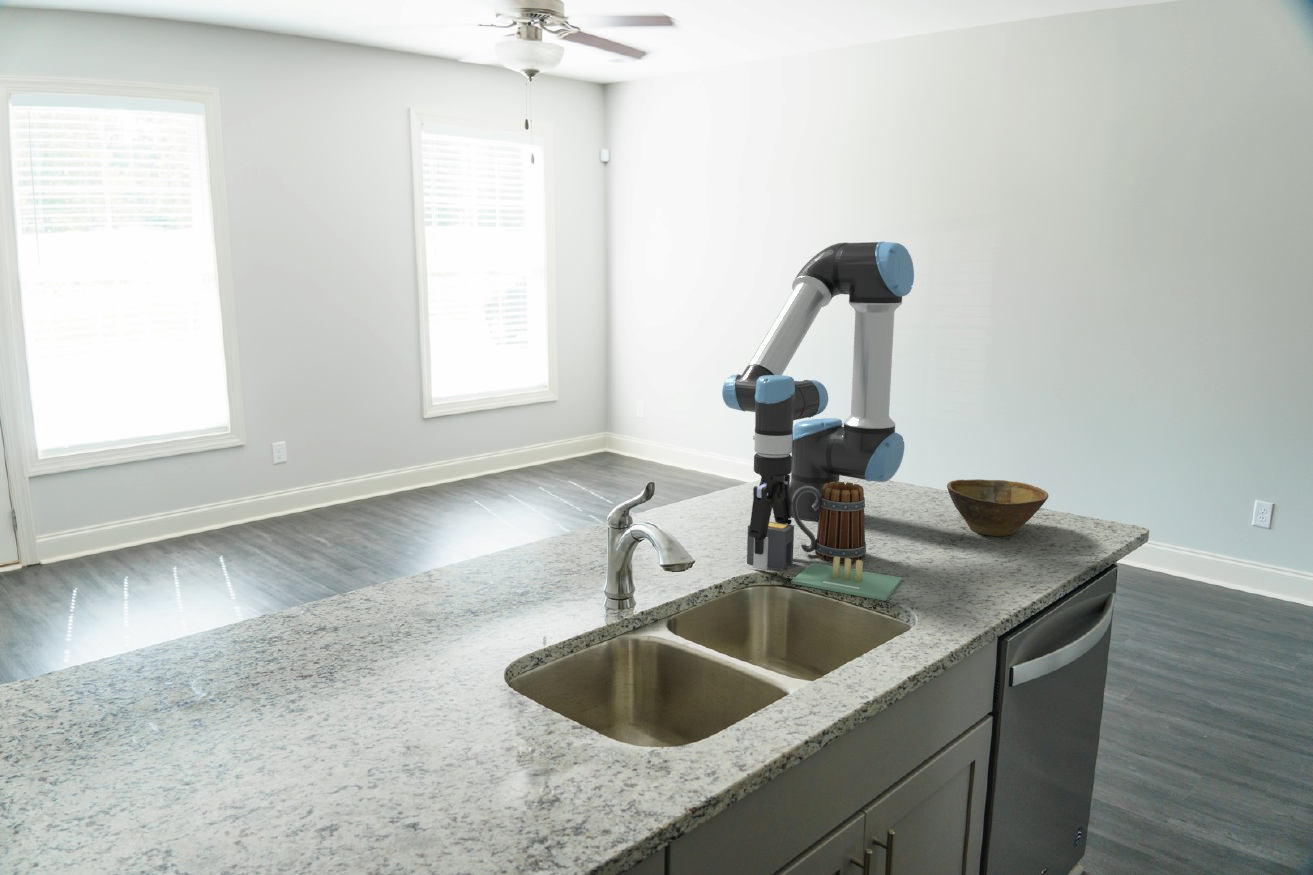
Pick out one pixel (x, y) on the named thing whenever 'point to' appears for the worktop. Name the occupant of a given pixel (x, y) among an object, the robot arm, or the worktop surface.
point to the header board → (847, 580)
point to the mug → (836, 521)
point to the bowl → (995, 504)
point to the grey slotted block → (775, 545)
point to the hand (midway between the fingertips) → (769, 561)
